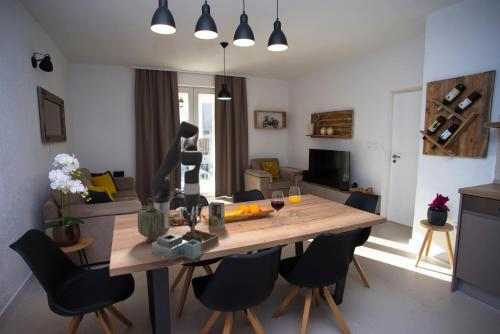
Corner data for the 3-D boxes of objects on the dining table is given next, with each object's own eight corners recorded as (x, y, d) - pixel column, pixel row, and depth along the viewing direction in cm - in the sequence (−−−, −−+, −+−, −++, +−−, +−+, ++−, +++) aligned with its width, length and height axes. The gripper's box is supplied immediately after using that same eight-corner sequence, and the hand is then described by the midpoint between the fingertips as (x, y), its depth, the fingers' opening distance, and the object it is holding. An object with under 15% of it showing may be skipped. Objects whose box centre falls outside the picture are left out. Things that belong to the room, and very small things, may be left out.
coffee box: (225, 226, 182) (224, 202, 180) (221, 229, 175) (221, 205, 173) (212, 225, 184) (212, 201, 182) (208, 228, 178) (208, 203, 176)
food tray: (178, 228, 177) (177, 214, 176) (156, 221, 191) (156, 208, 190) (206, 219, 197) (206, 207, 195) (185, 213, 211) (185, 201, 210)
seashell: (176, 233, 151) (181, 239, 142) (193, 219, 155) (199, 224, 146) (188, 248, 155) (193, 254, 146) (204, 234, 159) (210, 239, 150)
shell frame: (175, 244, 150) (175, 237, 150) (196, 235, 164) (195, 229, 164) (198, 252, 141) (198, 244, 141) (218, 242, 155) (218, 235, 155)
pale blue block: (152, 253, 139) (151, 237, 138) (169, 246, 148) (168, 231, 147) (171, 260, 132) (170, 243, 131) (187, 252, 141) (187, 236, 140)
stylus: (190, 233, 136) (189, 210, 135) (194, 233, 137) (194, 209, 136) (190, 235, 134) (190, 211, 133) (195, 234, 135) (194, 211, 133)
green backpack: (165, 242, 154) (164, 199, 151) (150, 247, 147) (148, 201, 144) (152, 235, 163) (150, 194, 160) (137, 240, 157) (135, 197, 154)
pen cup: (184, 256, 136) (184, 243, 135) (192, 252, 141) (192, 239, 140) (193, 259, 133) (192, 245, 132) (200, 255, 138) (200, 242, 137)
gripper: (187, 195, 125) (188, 231, 127) (207, 190, 137) (207, 223, 139) (175, 193, 129) (176, 228, 131) (196, 188, 141) (196, 221, 143)
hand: (192, 226), depth 135 cm, fingers closed on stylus, 2 cm apart
